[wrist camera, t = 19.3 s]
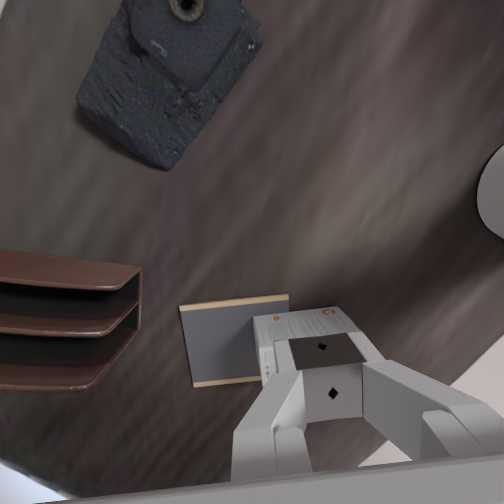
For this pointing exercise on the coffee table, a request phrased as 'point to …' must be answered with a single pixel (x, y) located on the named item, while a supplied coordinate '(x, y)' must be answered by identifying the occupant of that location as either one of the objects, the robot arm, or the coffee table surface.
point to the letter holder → (64, 320)
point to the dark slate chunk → (166, 72)
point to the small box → (294, 331)
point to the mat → (226, 337)
